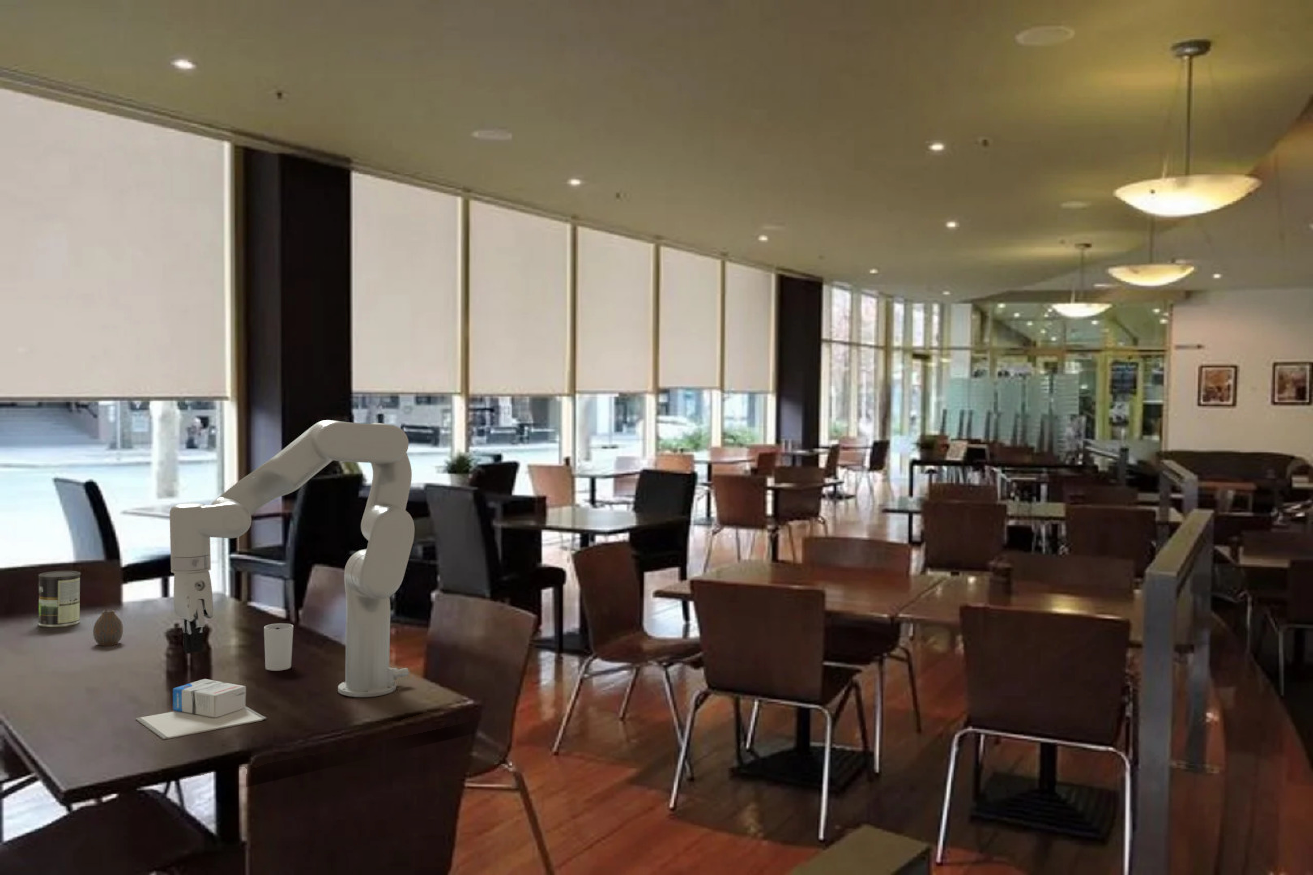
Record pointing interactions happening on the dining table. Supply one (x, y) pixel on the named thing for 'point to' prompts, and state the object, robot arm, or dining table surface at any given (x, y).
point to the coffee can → (59, 598)
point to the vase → (108, 629)
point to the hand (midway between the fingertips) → (193, 651)
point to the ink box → (209, 698)
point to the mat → (195, 722)
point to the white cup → (278, 646)
